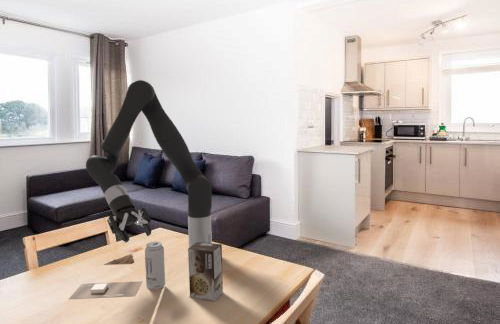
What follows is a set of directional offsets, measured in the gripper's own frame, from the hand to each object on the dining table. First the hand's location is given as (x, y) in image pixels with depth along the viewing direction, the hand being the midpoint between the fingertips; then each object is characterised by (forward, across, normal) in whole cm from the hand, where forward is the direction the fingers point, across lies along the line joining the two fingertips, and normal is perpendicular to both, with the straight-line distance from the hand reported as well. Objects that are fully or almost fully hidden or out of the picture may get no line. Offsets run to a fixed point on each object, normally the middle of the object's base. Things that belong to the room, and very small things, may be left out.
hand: (138, 237), depth 118 cm
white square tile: (+8, -13, +12) cm, 20 cm away
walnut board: (+10, -12, +12) cm, 19 cm away
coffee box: (+29, +7, -7) cm, 30 cm away
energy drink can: (+17, 0, +5) cm, 18 cm away
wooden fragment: (-1, 0, +24) cm, 24 cm away
